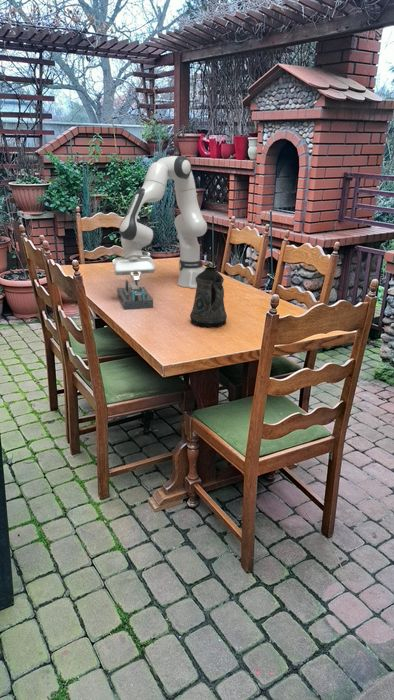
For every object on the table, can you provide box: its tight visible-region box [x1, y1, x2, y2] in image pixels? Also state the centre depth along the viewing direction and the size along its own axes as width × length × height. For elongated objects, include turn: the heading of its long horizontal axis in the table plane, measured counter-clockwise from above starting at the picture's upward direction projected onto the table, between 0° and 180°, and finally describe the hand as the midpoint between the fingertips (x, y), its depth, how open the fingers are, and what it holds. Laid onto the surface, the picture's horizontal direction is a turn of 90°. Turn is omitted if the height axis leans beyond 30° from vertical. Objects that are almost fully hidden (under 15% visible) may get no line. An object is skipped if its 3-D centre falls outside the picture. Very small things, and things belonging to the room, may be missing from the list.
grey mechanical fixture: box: [117, 279, 154, 310], centre depth 261 cm, size 14×27×8 cm, turn 15°
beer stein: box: [189, 266, 228, 329], centre depth 229 cm, size 16×19×25 cm
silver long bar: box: [128, 281, 141, 295], centre depth 259 cm, size 3×23×2 cm, turn 15°
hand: (136, 280), depth 255 cm, fingers closed
